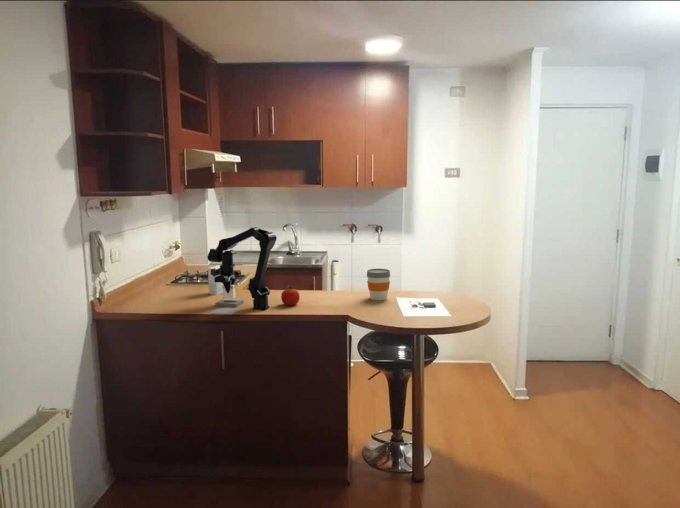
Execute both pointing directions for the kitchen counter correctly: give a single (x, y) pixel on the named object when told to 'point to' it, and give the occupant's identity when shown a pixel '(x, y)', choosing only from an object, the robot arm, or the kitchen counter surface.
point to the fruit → (290, 296)
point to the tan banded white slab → (229, 292)
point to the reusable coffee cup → (378, 283)
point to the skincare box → (214, 283)
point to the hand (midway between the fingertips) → (229, 292)
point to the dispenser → (229, 303)
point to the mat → (224, 311)
